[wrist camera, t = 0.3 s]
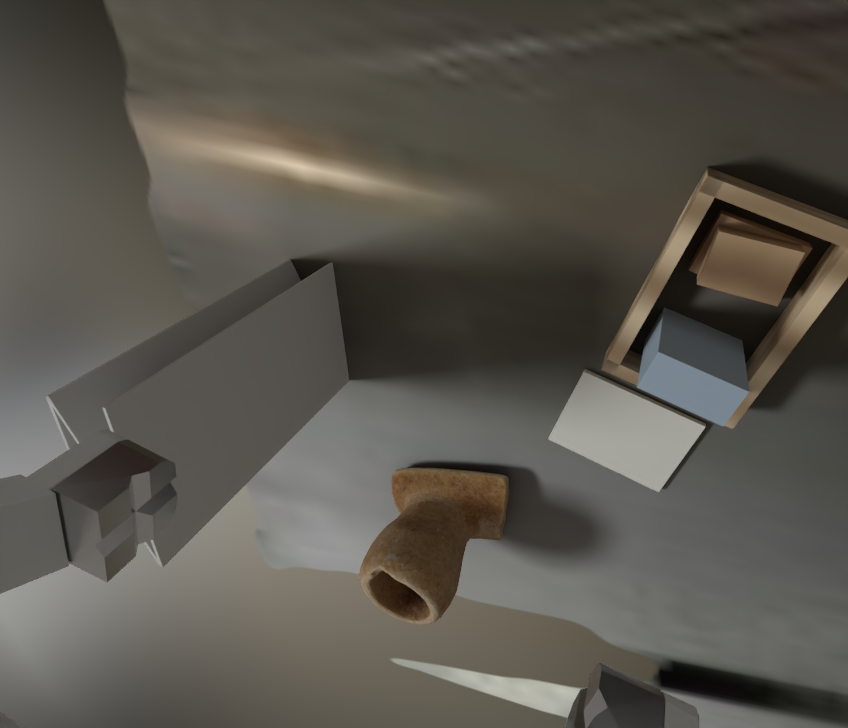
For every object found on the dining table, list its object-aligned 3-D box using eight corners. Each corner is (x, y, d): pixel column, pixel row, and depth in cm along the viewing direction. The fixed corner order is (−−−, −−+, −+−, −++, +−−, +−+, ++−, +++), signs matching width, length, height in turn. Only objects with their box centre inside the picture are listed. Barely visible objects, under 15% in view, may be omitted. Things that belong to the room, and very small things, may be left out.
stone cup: (409, 531, 78) (355, 625, 66) (390, 455, 73) (328, 540, 61) (524, 547, 72) (488, 653, 60) (512, 464, 67) (470, 561, 55)
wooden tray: (707, 166, 47) (707, 175, 44) (864, 226, 45) (875, 240, 42) (605, 352, 57) (601, 369, 54) (730, 408, 55) (732, 428, 52)
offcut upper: (718, 224, 47) (719, 231, 46) (801, 244, 46) (804, 252, 44) (696, 276, 49) (696, 284, 48) (774, 297, 48) (777, 306, 46)
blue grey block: (664, 307, 53) (658, 351, 46) (742, 340, 52) (749, 391, 45) (645, 339, 55) (636, 387, 48) (720, 372, 54) (723, 426, 47)
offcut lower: (720, 207, 48) (721, 213, 47) (808, 240, 47) (812, 248, 46) (689, 262, 51) (688, 270, 50) (771, 295, 50) (773, 304, 48)
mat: (585, 368, 59) (583, 371, 58) (705, 423, 57) (705, 427, 56) (549, 436, 64) (548, 439, 63) (658, 488, 62) (658, 492, 61)
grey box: (288, 259, 66) (45, 395, 41) (332, 261, 64) (104, 406, 39) (308, 374, 72) (108, 550, 48) (349, 380, 70) (162, 567, 46)
